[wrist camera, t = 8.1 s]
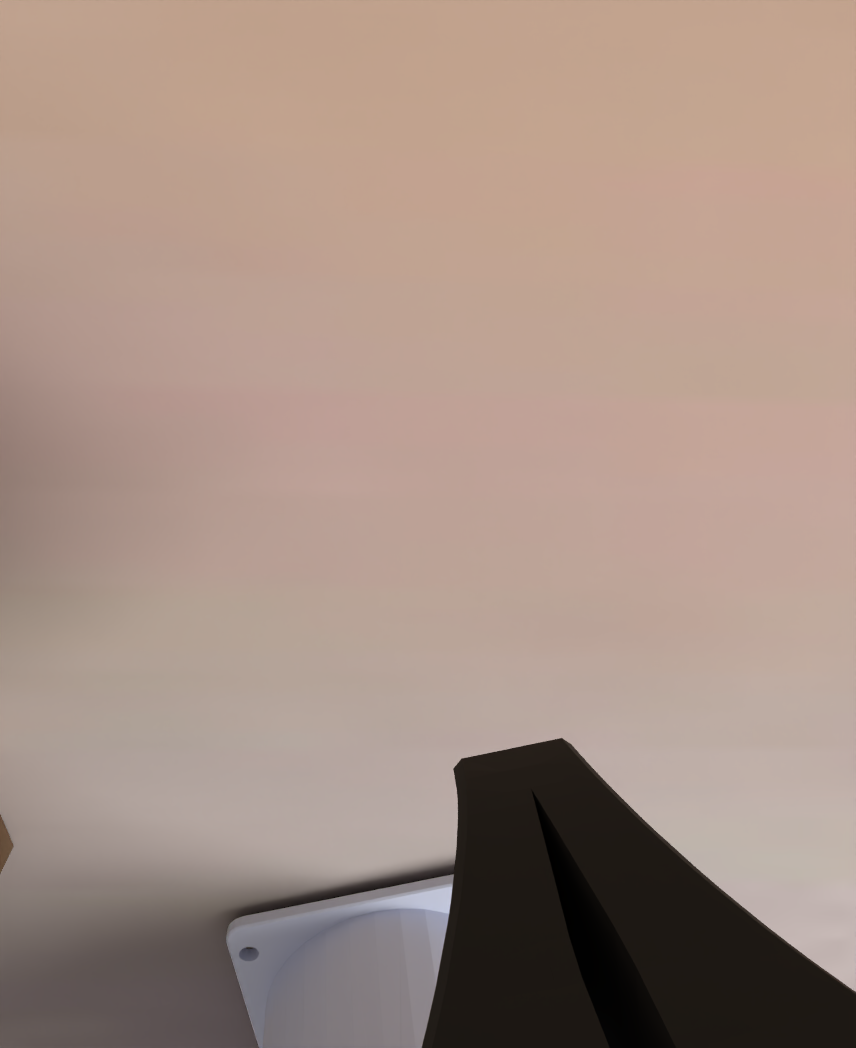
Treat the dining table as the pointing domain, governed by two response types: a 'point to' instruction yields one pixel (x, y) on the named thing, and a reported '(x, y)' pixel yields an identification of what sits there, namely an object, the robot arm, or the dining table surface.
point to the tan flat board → (4, 844)
